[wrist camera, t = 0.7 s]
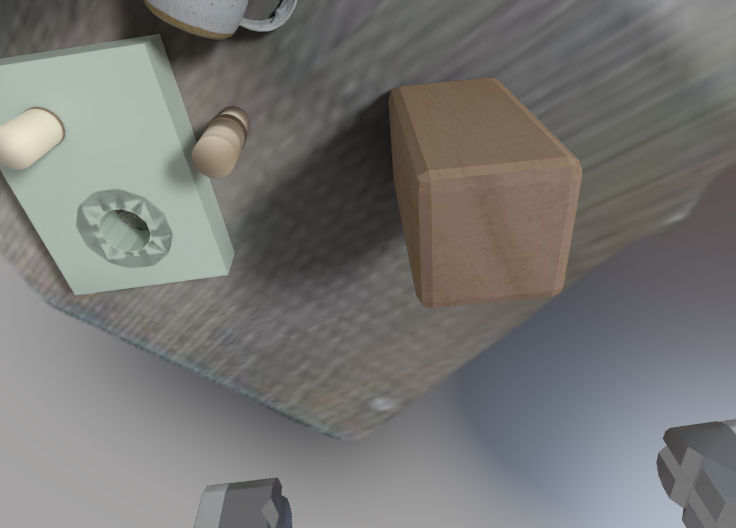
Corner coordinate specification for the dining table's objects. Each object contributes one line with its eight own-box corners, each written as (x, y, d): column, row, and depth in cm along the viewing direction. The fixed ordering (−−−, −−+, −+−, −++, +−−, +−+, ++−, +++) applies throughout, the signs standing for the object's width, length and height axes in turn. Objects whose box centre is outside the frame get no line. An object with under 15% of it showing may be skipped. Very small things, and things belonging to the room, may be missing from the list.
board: (-26, 62, 42) (-105, 92, 34) (159, 33, 41) (119, 57, 34) (91, 272, 54) (51, 328, 47) (234, 253, 54) (217, 306, 46)
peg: (211, 105, 45) (184, 141, 37) (247, 100, 44) (228, 135, 37) (222, 140, 46) (199, 182, 39) (256, 135, 46) (240, 176, 39)
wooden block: (393, 186, 50) (418, 315, 33) (386, 84, 44) (413, 179, 28) (492, 176, 50) (566, 301, 33) (498, 73, 44) (592, 162, 28)
